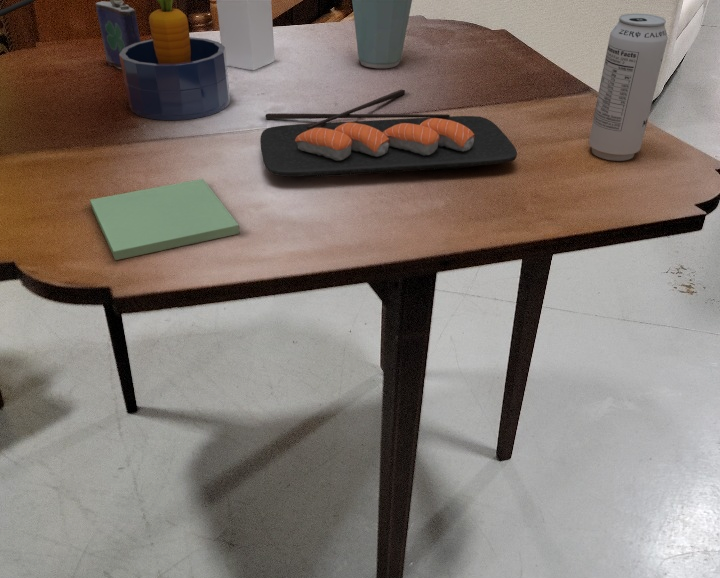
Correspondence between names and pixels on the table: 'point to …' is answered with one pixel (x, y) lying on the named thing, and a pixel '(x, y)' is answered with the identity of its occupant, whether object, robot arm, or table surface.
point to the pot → (176, 81)
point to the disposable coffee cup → (380, 31)
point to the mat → (162, 218)
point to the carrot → (170, 34)
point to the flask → (117, 28)
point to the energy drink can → (627, 86)
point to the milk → (246, 32)
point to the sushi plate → (381, 143)
